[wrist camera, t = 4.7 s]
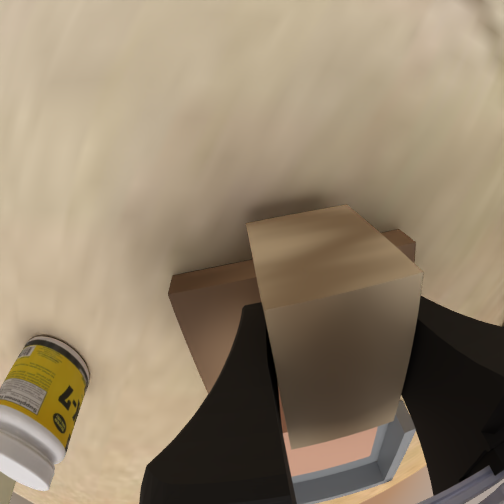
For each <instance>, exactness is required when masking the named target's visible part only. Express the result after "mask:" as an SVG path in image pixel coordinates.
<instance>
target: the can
mask: <svg viewBox="0 0 504 504" xmlns="http://www.w3.org/2000/svg"><path fill="white" fill-rule="evenodd" d="M15 482H16V481H15V480H13V479H11V478H10V477H8V476H7V475H5V474H3V473H2V472H1V471H0V504H9V503H10V499H11V496H12V492H13V489H14V486H15Z"/></svg>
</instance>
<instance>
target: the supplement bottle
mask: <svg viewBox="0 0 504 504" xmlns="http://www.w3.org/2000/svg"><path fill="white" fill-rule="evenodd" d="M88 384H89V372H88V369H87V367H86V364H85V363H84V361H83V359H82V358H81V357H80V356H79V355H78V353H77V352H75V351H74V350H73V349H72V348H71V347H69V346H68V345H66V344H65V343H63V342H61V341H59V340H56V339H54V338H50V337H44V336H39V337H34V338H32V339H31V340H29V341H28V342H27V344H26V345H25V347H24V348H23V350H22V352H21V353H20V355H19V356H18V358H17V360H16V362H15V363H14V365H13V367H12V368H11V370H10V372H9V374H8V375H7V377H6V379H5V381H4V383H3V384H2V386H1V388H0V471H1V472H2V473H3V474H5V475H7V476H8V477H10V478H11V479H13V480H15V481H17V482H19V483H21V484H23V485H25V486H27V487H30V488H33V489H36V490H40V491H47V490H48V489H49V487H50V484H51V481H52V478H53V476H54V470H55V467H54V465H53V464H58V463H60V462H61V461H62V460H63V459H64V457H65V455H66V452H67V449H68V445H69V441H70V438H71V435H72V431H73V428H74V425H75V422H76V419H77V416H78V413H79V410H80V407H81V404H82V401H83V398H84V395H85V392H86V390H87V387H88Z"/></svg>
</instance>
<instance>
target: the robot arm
mask: <svg viewBox="0 0 504 504" xmlns="http://www.w3.org/2000/svg"><path fill="white" fill-rule="evenodd" d="M401 395H402V397H403V399H404V401H405V403H406V406H407V408H408V411H409V413H410V416H411V418H412V421H413V423H414V426H415V429H416V432H417V434H418V437H419V440H420V443H421V447H422V450H423V453H424V457H425V460H426V463H427V468H428V471H429V476H430V480H431V485H432V490H433V495H434V496H433V497H431V498H428V499H426V500H424V501H422V502H420V503H418V504H464V503H466V502H468V501H469V500H471V499H473V498H475V497H476V496H478V495H479V494H481V493H483V492H484V491H486V490H487V489H489V488H491V487H492V486H494V485H495V484H497V483H498V482H499V481H501V480H502V479H504V327H500V326H497V325H493V324H489V323H485V322H482V321H479V320H476V319H473V318H470V317H467V316H464V315H462V314H459V313H457V312H454V311H452V310H449V309H447V308H445V307H443V306H441V305H438V304H436V303H434V302H432V301H430V300H428V299H426V298H424V297H422V296H421V297H420V304H419V311H418V317H417V323H416V329H415V334H414V340H413V345H412V350H411V355H410V359H409V364H408V368H407V373H406V377H405V381H404V385H403V389H402V393H401ZM139 504H297V502H296V497H295V492H294V487H293V482H292V477H291V472H290V467H289V462H288V457H287V452H286V447H285V442H284V437H283V431H282V424H281V413H280V402H279V392H278V382H277V376H276V371H275V366H274V361H273V356H272V351H271V346H270V341H269V336H268V330H267V325H266V320H265V316H264V311H263V306H262V302H259V303H254V304H249V305H245V306H244V307H243V308H242V313H241V319H240V323H239V327H238V330H237V333H236V336H235V339H234V342H233V345H232V348H231V350H230V353H229V355H228V357H227V360H226V362H225V364H224V366H223V369H222V371H221V373H220V375H219V377H218V378H217V380H216V382H215V384H214V386H213V387H212V389H211V391H210V392H209V394H208V396H207V397H206V399H205V400H204V402H203V403H202V405H201V406H200V408H199V409H198V410H197V412H196V413H195V415H194V416H193V417H192V418H191V420H190V421H189V422H188V423H187V424H186V426H185V427H184V428H183V429H182V430H181V432H180V433H179V434H178V435H177V436H176V438H175V439H174V440H173V441H172V442H171V443H170V444H169V445H168V446H167V447H166V448H165V449H164V450H163V451H162V452H161V453H160V454H159V455H157V456H156V457H155V458H154V459H153V460H152V461H151V462H150V463H149V464H148V465H147V466H146V470H145V474H144V477H143V481H142V485H141V492H140V502H139ZM479 504H504V483H503V484H501V485H500V486H499V487H498V488H497V489H496V490H495V491H494V492H493V493H492V494H490V495H489V496H488V497H487V498H485V499H484V500H483V501H481V502H480V503H479Z"/></svg>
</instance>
